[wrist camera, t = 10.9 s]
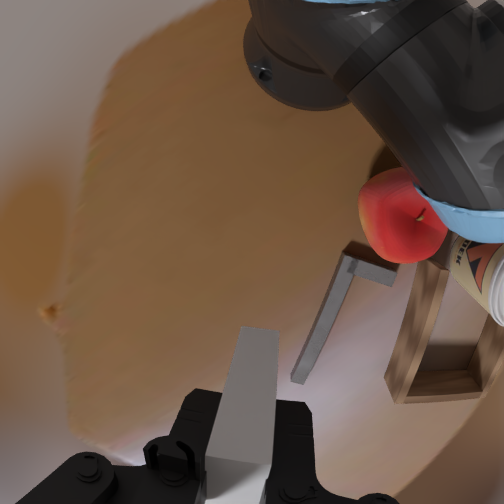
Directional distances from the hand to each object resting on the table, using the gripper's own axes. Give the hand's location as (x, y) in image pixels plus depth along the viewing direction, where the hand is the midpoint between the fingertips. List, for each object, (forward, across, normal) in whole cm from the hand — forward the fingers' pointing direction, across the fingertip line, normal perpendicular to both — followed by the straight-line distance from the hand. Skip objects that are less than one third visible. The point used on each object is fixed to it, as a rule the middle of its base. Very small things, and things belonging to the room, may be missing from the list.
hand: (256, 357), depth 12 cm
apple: (+25, +12, +5) cm, 28 cm away
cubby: (+24, +26, -9) cm, 37 cm away
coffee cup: (+25, +26, +1) cm, 36 cm away
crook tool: (+25, +10, -10) cm, 28 cm away
